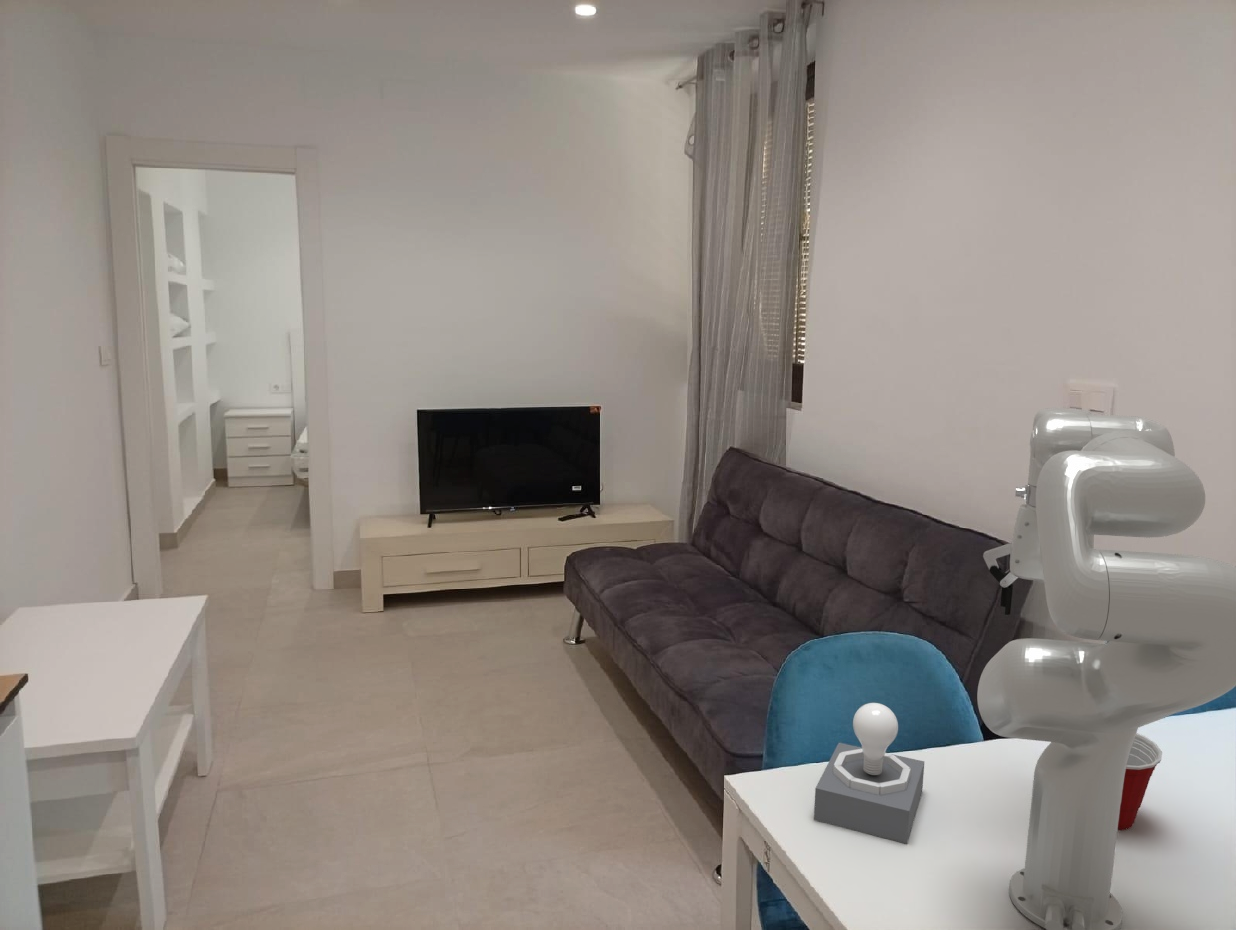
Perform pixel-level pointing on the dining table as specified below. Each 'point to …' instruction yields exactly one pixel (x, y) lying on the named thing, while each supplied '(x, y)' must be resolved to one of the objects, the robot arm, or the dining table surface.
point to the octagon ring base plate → (869, 794)
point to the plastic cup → (1137, 778)
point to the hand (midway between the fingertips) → (1045, 617)
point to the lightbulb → (874, 734)
